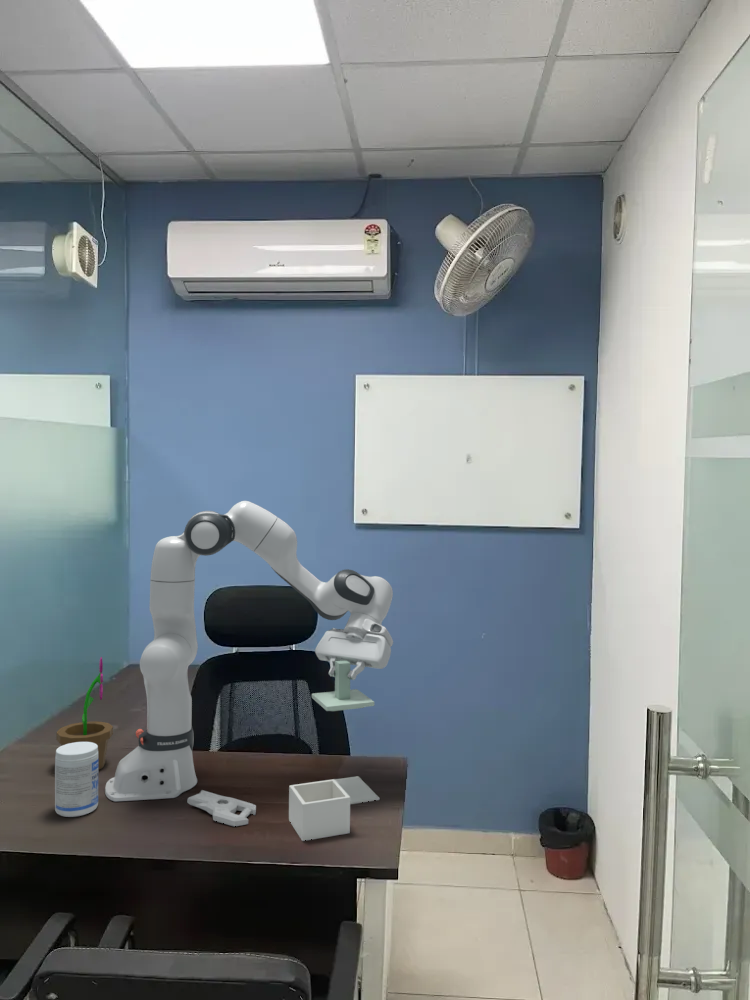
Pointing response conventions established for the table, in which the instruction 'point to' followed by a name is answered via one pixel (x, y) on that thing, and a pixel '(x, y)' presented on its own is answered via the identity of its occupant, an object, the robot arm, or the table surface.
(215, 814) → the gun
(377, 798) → the mat
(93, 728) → the flowerpot
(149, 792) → the robot arm
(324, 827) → the tub
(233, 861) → the table surface
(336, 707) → the lid
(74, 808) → the supplement tub
